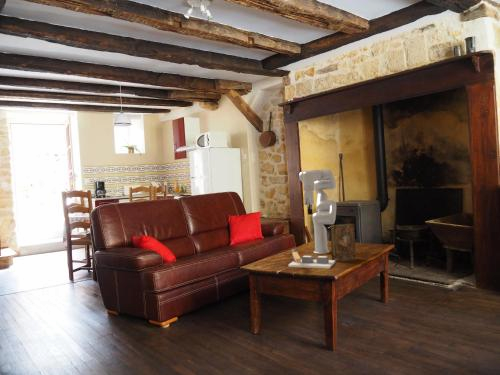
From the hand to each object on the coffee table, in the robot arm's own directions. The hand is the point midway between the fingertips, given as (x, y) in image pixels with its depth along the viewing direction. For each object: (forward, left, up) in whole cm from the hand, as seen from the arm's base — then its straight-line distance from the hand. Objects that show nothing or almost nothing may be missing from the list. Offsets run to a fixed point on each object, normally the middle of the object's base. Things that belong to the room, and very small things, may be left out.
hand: (310, 214), depth 294 cm
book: (-4, +22, -33) cm, 40 cm away
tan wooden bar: (+23, -5, -28) cm, 37 cm away
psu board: (+13, +3, -33) cm, 36 cm away
